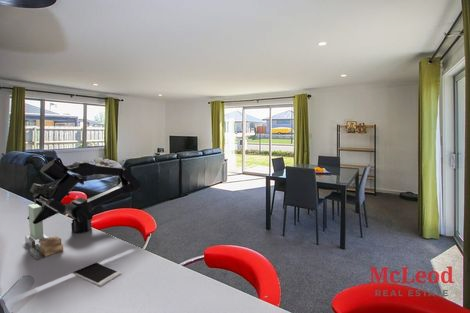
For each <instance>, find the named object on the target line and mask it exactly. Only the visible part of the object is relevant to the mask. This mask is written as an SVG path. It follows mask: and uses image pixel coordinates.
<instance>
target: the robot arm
mask: <svg viewBox="0 0 470 313" xmlns="http://www.w3.org/2000/svg"><path fill="white" fill-rule="evenodd" d="M40 173H42V174H43V175H44V176H46V177H47V178H50V179H51V180H52V181H58V182H57V183H55V184H54V183H53V184H51V185H49V184H45V183H43V184H39V183H33V184H32V185H31V187H30V190H29V192H30V193H32V194H33V195H32V198H33V202H34V204H38V205H39V206H41V207H42V210H41V212H40V213H39V214H38V216H37V217H36V218H35V220H34V221H33V223H34V224H37V223H39V222H41V221H45V220H47V219H48V218H51V217H53V216H55V215H58V214H59V213H61V214H62V215H63V214H64V213H66V215H67V216H70V217H71V219H72V220H71V221H72V222H71V224H70V225H71V232H72V233H75V234H84V233H89V231H91V230H92V220H93V216H94V214H93V213H91V212H92V211H93V210H94V208H96V207H99V206H101V205H103V204H105V203H106V202H109V201H112V200H114V199H115V198H117V197H119V196H122V195H124V194H130V193H134V192H137V191H139V190H140V189H141V188H140V187H141V183H140V181H139V180H138V179H136V177H135V176H134V175H133V174H132V173H131V172H130V171H129V170H128V168H126V167H117V166H116V167H115V166H105V165H98V164H97V165H96V164H93V163H89V162H85V161H81V160H79V161H78V160H77V161H75V162H74V163H72V164H68V165H65V164H64V163H62V162H61V161H60V160H58V158H53V160H51V161H49V162H47V163H45V164H44V165H43V166H42V167H41V168H40ZM70 173H71V174H70ZM77 175H78V176H80V177H78V176H77ZM95 175H104V176H118V177H119V180H120V183H119V184H118V185H117V186H114V187H112V188H110V189H108V190H105V191H103V192H100V193H99V194H96V195H94V196H91V197H89V198H84V197H78V198H76V199H74V200H71V201H70V203H68V204H67V205H65V204H63V200H64V198H66V197H69V196H70V195H71V194H70V192H71V191H73V189H74V188H75V187H76V186H77V185H79V184H80V185H85V181H84V178H83V177H88V176H90V177H91V176H95ZM27 220H29V215H28V216H27Z"/></svg>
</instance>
